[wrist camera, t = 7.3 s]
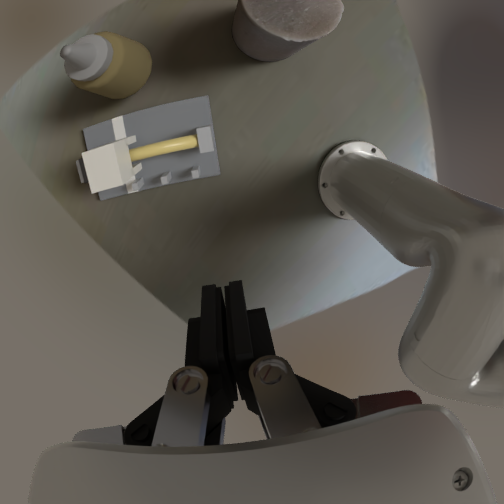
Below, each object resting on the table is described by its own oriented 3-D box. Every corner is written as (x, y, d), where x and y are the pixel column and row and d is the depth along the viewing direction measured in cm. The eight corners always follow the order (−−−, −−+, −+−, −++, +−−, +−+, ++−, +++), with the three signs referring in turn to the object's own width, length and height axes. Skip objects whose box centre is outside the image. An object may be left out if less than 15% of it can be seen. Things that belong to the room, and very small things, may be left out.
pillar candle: (227, 5, 26) (234, -45, 13) (298, 3, 26) (339, -39, 13) (236, 65, 30) (247, 40, 18) (307, 61, 31) (357, 42, 18)
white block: (135, 135, 31) (113, 142, 24) (142, 168, 34) (123, 185, 26) (108, 142, 31) (81, 153, 24) (115, 175, 34) (92, 193, 26)
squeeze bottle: (118, 111, 31) (49, 119, 15) (94, 69, 27) (18, 54, 12) (168, 78, 30) (128, 53, 14) (142, 35, 26) (90, -10, 11)
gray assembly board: (208, 95, 32) (206, 92, 27) (220, 173, 37) (220, 184, 32) (85, 128, 31) (65, 133, 26) (102, 198, 37) (86, 213, 31)
